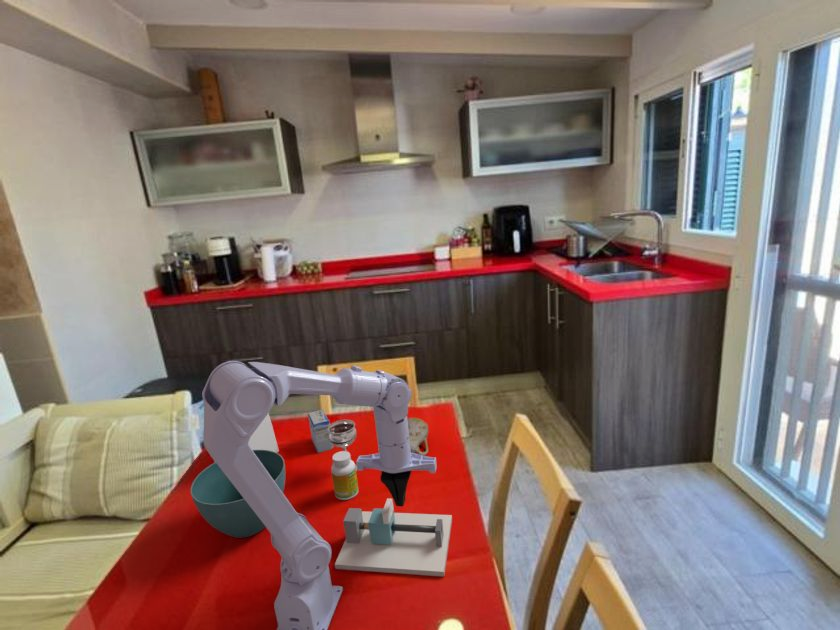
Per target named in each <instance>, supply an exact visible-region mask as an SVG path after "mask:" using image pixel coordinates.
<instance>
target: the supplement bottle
mask: <svg viewBox="0 0 840 630" xmlns="http://www.w3.org/2000/svg"><path fill="white" fill-rule="evenodd" d="M331 458H332V465H331V467H330V469H331V470H330V473H331V476H332V477H331V478H332V483H333V490H334V496H335V497H336V499H338V500H341V501H346V500H347V501H348V500H350V499H353V498H355V497H356V496H357V495H358V494H359V483H358V477H357V471H356V468H355V465H356V464H355V463H356V462H355V461H354V460H352V458H351V453H350V452H349V451H348V450H347V451H343V450H342V451H341V450H340V451H338V452H335V453H334V454H333V455H332V457H331Z"/></svg>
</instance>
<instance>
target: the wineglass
mask: <svg viewBox="0 0 840 630" xmlns="http://www.w3.org/2000/svg"><path fill="white" fill-rule="evenodd" d="M355 426H356V423H355V422H354V421H353V420H351V419H340V420H336V421H333V422H332V423H330V425H329V427H328V431H329V440H330V442H331V443H332V444H333V446H335V447H337V448H341V449H343V450H342V451H347V452H348V450H347V447H349V446H350V445H352V444H353V443H354V442H355V440H356V438H357V429H356V427H355ZM355 468H356V472H357V471H358V470H357V464H355Z"/></svg>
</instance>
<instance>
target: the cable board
mask: <svg viewBox="0 0 840 630" xmlns="http://www.w3.org/2000/svg"><path fill="white" fill-rule="evenodd" d="M372 512H373V511H366V510H365V511H362V508H359V507H358V508H356V507H354V508H353V507H349V508H348V510H347V512H346V514H345V516H344V518H343V521H342V523H343V528H344V533H345V534H344V535H345V540H344V542H343V545H342V547H341V549H340V551H339V553H338V556H337V558H336V561H335V563H334V568H335V570H346V571H361V572H372V573H373V572H376V573H388V574H389V573H391V574H402V575H403V574H404V575H405V574H406V575H417V576H418V575H419V576H431V577H445V572H446V568H447V567H446V565H447V559H448V552H449V544H450V539H451V531H452V530H451V529H452V523H453V515H452V514H436V513H434V514H432V513H431V514H430V513H411V512H410V513H409V512H394V516H395V524H392V526H391V530H392V531H395V533H392V538H393V541H392V544H374V543H371V539H370V532H369V526H368V522H369V520H370V517H371V514H372Z"/></svg>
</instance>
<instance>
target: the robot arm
mask: <svg viewBox="0 0 840 630" xmlns="http://www.w3.org/2000/svg"><path fill="white" fill-rule="evenodd" d="M247 364H249V365H250V366H251V367H252V368H250V367H249V366H248V365H247ZM247 364H245V363H244V362H242V361H240V360H239V361H238V360H229V361H225V362H222V363H221V364H219V365H217V366H216V367H214V369H212V371H211V372H210V375H209V376H208V378H207V381H206V383H205V386H204V387H203V390H202V391H201V392H202V393H201V396H202V401H203V445H204V448H205V450H206V451H207V453H208V454H209V455H210V457H211V458H212V459H213V462H214V461H215V462H216V463H217V465H218V466H219V467H220V468H221V470H222V471H223V472H224V474H225V475H226V476H227V477H228V479H229V480H230V481H231V483H232V484H233V485H234V487H235V488H236V489H237V490H238V492H239V493H240V494H241V496H242V497H243V498H244V499H245V501H246V502H247V503H248V505H249V506H250V507H251V508H252V510H253V511H254V512H255V514H256V515H257V516H258V517H259V519H260V520H261V521H262V523H263V524H264V525H265V526H266V527H265V529H267V531H268V532H269V533H270V541H271V545H272V547H273V548H274V549H275V550H277V552H278V554H279V555H280V557H281V559H280V569H279V570H280V574H281V577H280V578H281V581H280V586H279V587H280V588H279V590H278V594H277V596H276V598H275V600H274V603H273V606H274V607H273V608H274V612H275V617H276V622H277V628H276V630H328V628H329V626H330V624H331V622H332V618H333V616H334V614H335V611H336V609H337V608H336V607H337V606H338V603H339V600H340V598H341V595H342V593H343V591H344V589H343V586H340V585H332V580H331V574H330V568H329V564H330V562H331V559H332V547H331V544H329V542H328V541H326V540H324V538H323V537H322V536H321V535H320V534H319V533H318V531H317V530H316V529H315V528H314V527H313V526H312V525H311V524H310V523H309V520H308V519H307V517H306V516H305V515H304V514H302V513H300V512H297V511H296V510H295V508H294V506H293V505H292V503H291V502H290V501H289V499H288V498H287V497H286V495H285V494H284V491H283V492H282V491H281V490H280V488H279V487H278V485H277V484H276V483H275V481H274V480H273V478H272V477H271V476H270V474H269V473H268V471H267V470H266V469H265V467H264V466H263V464H262V463H261V462H260V460H259V459H258V457H257V456H256V455H255V453H254V452H253V450H252V449H251V447H250V446H249V445H248V442H249V440H250V437H251V436H252V434H253V433H254V432H255V430H256V429H257V428H258V426H259V425H260V424H261V422H262V421H263V420H264V418H265V417H266V416H267V414H268V413H269V414H270V411H271V410H272V409H273V406H274V405H275V406H277V407H279V406H281V405H282V404H283V403H284V402H285V401H286V400H287V399H288V397H289V396H290V395H310V396H311V395H313V396H314V395H315V396H332V398H333V399H334V401H335V402H336V403H337V404H339V405H348V406H360V407H370V408H371V407H372V409H373V415H374V423H375V431H376V432H375V433H376V438H377V446H378V447H377V448H378V449H377V450H378V452H377V453H372V454H367V455H359V456H358V457H357V459H356V461H355V463H356V464H355V465H357V471H360V472H361V471H364V469H367V470H369V469H370V470H378V471H381V475H380V477H379V478H380V481H381V483H382V484H383V485H384V486H385V487H386V488H387V491H389V493H390V495H391V498H392V500H393V502H394V505H395V506H396V507H404V505H405V501H406V495H407V493H406V492H407V488H408V483H409V481H410V478H411V473H412V471H427V472H429V473H430V474H436V471H437V468H438V467H437V457H432V456H428V455H424V456H423V455H419V454H418V453H411V449H410V440H409V430H408V420H407V419H408V414H409V404H410V401H411V399H412V394H413V390H412V389H410V387H409V385H408V383H407V382H406V380H404V379H403V378H401V377H398V376H396V375H393V374H391V373H389V372H386V371H383V370H381V369H376V370H374V371H368V370H367V371H366V370H363V368H362V367H361V366H358V365H353V364H352V365H351V366H350V368H348V367H345V368H344V367H343V368H341V369H340V370H339V371H337V372H336V373H334V374H333V373H327V372H321V371H316V370H310V369H303V368H297V367H292V366H287V365H286V366H285V365H280V364H276V363H275V364H274V363H268V362H267V363H266V362H259V361H248V362H247Z"/></svg>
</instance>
